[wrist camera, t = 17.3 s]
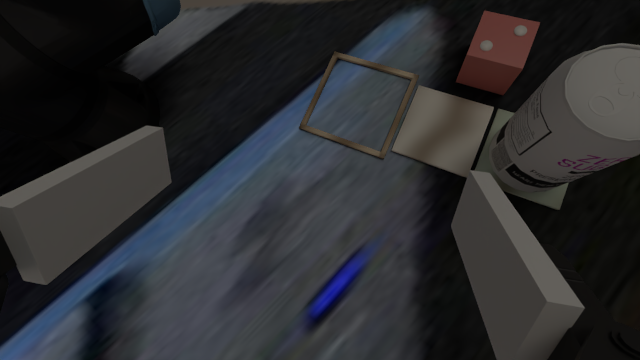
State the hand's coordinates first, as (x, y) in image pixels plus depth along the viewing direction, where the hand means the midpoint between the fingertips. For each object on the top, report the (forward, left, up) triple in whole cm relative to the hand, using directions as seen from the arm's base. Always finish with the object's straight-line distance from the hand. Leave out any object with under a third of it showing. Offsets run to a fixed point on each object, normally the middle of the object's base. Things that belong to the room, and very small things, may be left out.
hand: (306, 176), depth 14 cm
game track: (+4, +15, -25) cm, 29 cm away
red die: (+7, +24, -25) cm, 35 cm away
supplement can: (+14, +15, -25) cm, 32 cm away
